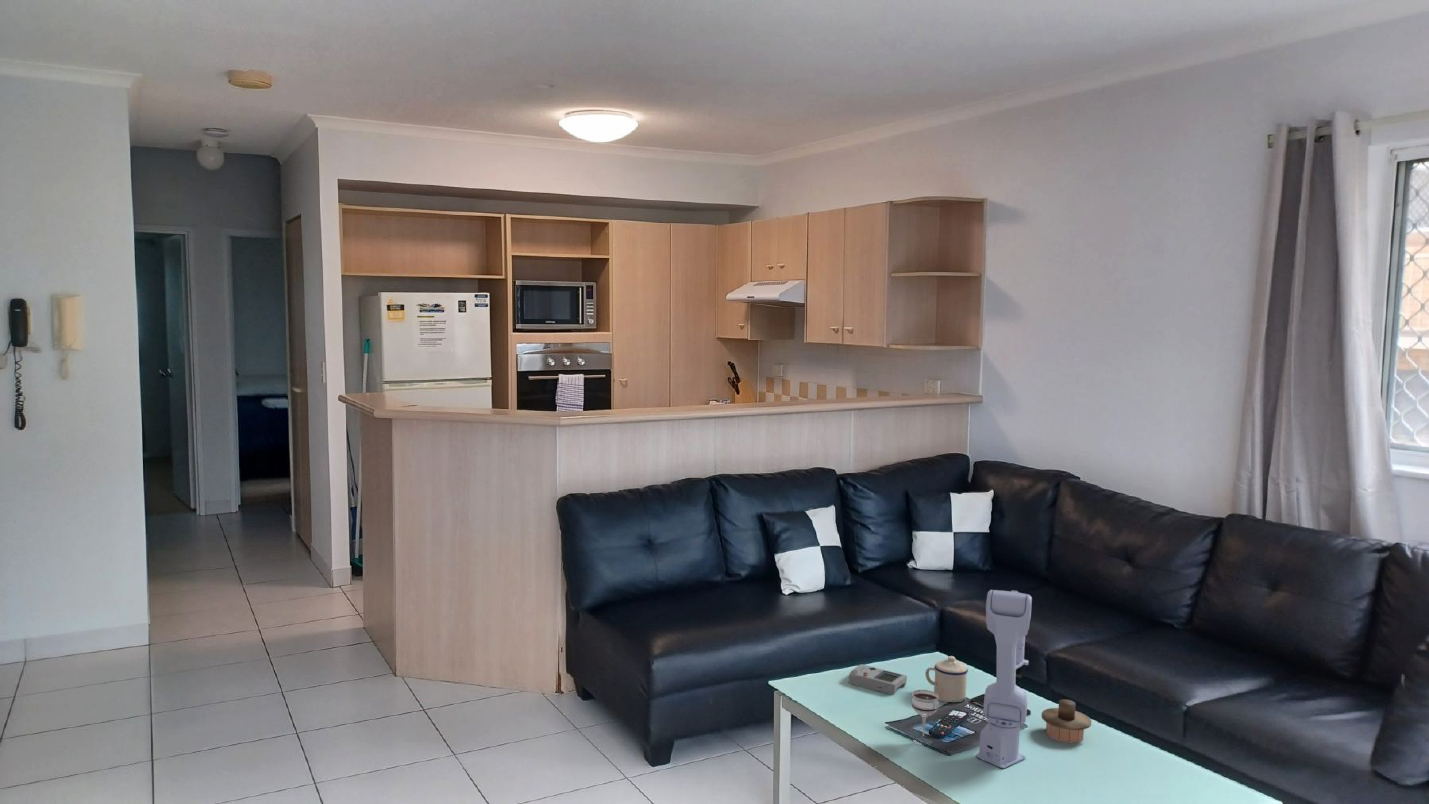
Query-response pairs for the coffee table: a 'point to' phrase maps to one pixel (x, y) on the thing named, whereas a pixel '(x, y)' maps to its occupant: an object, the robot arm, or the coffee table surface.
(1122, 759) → the coffee table surface
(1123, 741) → the coffee table surface
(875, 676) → the handheld gaming device
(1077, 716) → the walnut lid
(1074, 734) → the terracotta bowl
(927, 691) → the wineglass
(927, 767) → the coffee table surface
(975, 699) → the phone
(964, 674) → the teacup with lid
